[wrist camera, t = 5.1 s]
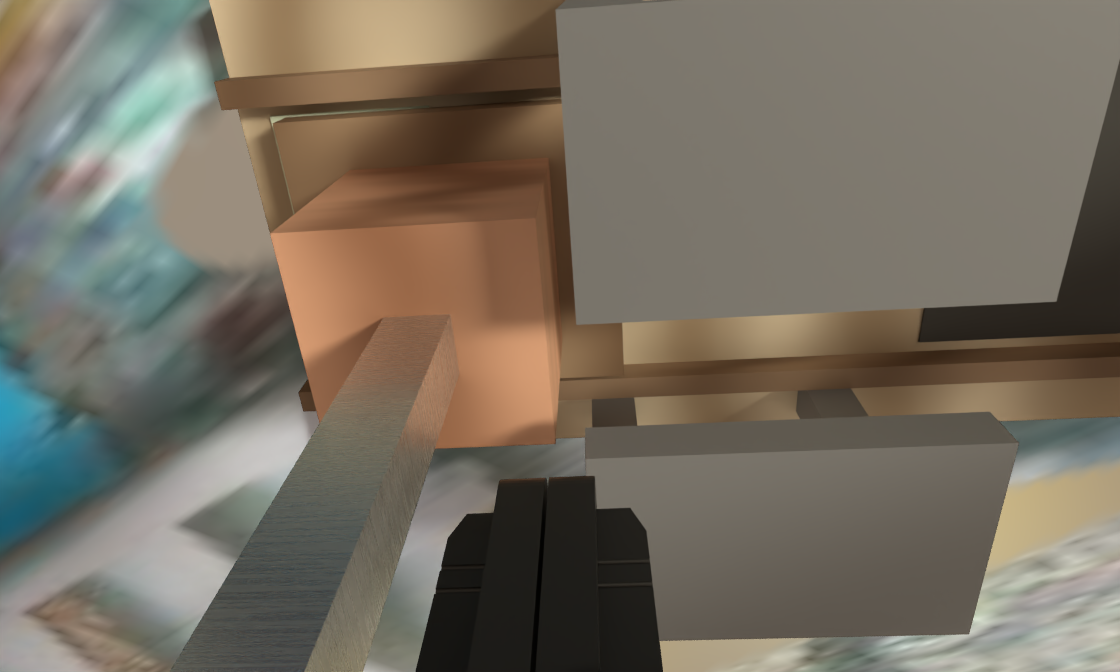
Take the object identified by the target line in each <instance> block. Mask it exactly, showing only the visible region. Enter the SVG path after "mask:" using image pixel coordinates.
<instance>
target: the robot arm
mask: <svg viewBox="0 0 1120 672" xmlns="http://www.w3.org/2000/svg"><path fill="white" fill-rule="evenodd" d="M441 566H442V569H441V571H440V573H439V577H438V581H437V585H436V594H434V598H433V602H432V606H431V610H430V614H429V618H428V622H427V627H426V631H425V635H424V639H423V643H422V647H421V651H420V655H419V659H418V664H417V668H416V672H663V667H662V659H661V650H660V642H659V633H658V625H657V616H656V607H655V599H654V590H653V583H652V573H651V565H650V556H649V547H648V539H647V531H646V529H645V528H644V526H643V525H642V524H641V522H640V521H639V519H638V518H637V517H636V515H635V514H634V512H633V511H632V510H631V508H609V509H597V501H596V484H595V476H575V477H550V478H549V482H548V484H547V479H546V478H530V479H505V480H500V481H499V485H498V490H497V496H496V502H495V508H494V513H481V514H467V515H466V516H465V517H464V518H463V520H462V521H461V522H460V523H459V525H458V526H457V527H456V529H455V530H454V531H453V532H452V534H451V535H450V536H449V537H448V540H447V544H446V548H445V552H444V557H443V561H442V565H441Z"/></svg>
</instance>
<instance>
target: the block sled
mask: <svg viewBox="0 0 1120 672" xmlns="http://www.w3.org/2000/svg"><path fill="white" fill-rule="evenodd" d="M273 128H274V132H275V136H276V140H277V144H278V148H279V152H280V156H281V161H282V165H283V169H284V173H285V177H286V181H287V185H288V189H289V193H290V198H291V202H292V206H293V210H294V215H293V216H292V217H290V218H289V219H288V220H286V221H285V222H284V223H283V224H281V225H280V226H279V227H278V228H276V229H275V230H274V231H273V232H271V233H270V235H271V239H272V243H273V247H274V251H275V254H276V258H277V262H278V266H279V270H280V273H281V277H282V281H283V285H284V289H285V293H286V296H287V300H288V304H289V308H290V312H291V315H292V319H293V323H294V327H295V331H296V335H297V338H298V342H299V346H300V350H301V354H302V358H303V361H304V365H305V369H306V373H307V377H308V380H309V384H310V388H311V392H312V396H313V400H314V403H315V407H316V411H317V415H318V419H319V423H320V424H319V425H318V427H317V429H316V430H315V432H314V434H313V435H312V437H311V439H310V440H309V442H308V444H307V445H306V447H305V449H304V450H303V452H302V454H301V455H300V457H299V459H298V460H297V462H296V463H295V465H294V467H293V468H292V470H291V472H290V473H289V475H288V477H287V478H286V480H285V482H284V483H283V485H282V487H281V488H280V490H279V492H278V493H277V495H276V497H275V498H274V500H273V502H272V503H271V505H270V507H269V508H268V510H267V512H266V513H265V515H264V516H263V518H262V520H261V521H260V523H259V525H258V526H257V528H256V530H255V531H254V533H253V535H252V536H251V538H250V540H249V541H248V543H247V545H246V546H245V548H244V550H243V551H242V553H241V555H240V556H239V558H238V560H237V561H236V563H235V564H234V566H233V568H232V569H231V571H230V573H229V574H228V576H227V578H226V579H225V581H224V583H223V584H222V586H221V588H220V589H219V591H218V593H217V594H216V596H215V598H214V599H213V601H212V603H211V604H210V606H209V608H208V609H207V611H206V613H205V614H204V616H203V617H202V619H201V621H200V622H199V624H198V626H197V627H196V629H195V631H194V632H193V634H192V636H191V637H190V639H189V641H188V642H187V644H186V646H185V647H184V649H183V651H182V652H181V654H180V656H179V657H178V659H177V661H176V662H175V664H174V666H173V667H172V669H171V670H170V672H363V669H364V666H365V663H366V660H367V657H368V654H369V651H370V648H371V645H372V642H373V638H374V635H375V632H376V629H377V626H378V623H379V620H380V617H381V614H382V611H383V608H384V605H385V601H386V598H387V595H388V592H389V589H390V586H391V583H392V580H393V577H394V574H395V571H396V568H397V564H398V561H399V558H400V555H401V552H402V549H403V546H404V543H405V540H406V537H407V534H408V531H409V527H410V524H411V521H412V518H413V515H414V512H415V509H416V506H417V503H418V500H419V497H420V494H421V490H422V487H423V484H424V481H425V478H426V475H427V472H428V469H429V466H430V463H431V460H432V457H433V453H434V450H435V449H436V448H462V447H488V446H514V445H541V444H555V443H556V428H557V413H558V398H559V383H560V378H578V377H601V376H624V359H623V329H622V323H606V324H585V325H576V313H575V297H574V282H573V267H572V252H571V237H570V222H569V206H568V191H567V176H566V161H565V146H564V131H563V115H562V100H561V99H550V100H535V101H521V102H506V103H491V104H476V105H462V106H447V107H432V108H418V109H403V110H388V111H373V112H359V113H344V114H329V115H315V116H300V117H285V118H283V119H281V120H279V121H277V122H274V123H273Z"/></svg>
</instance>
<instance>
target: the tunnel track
mask: <svg viewBox="0 0 1120 672" xmlns="http://www.w3.org/2000/svg"><path fill="white" fill-rule="evenodd" d="M209 2H210V5H211V9H212V13H213V17H214V21H215V24H216V28H217V32H218V36H219V40H220V44H221V47H222V51H223V55H224V59H225V63H226V67H227V70H228V74H229V78H227V79H223V80H219V81H216V82H214V83H215V87H216V91H217V94H218V98H219V102H220V106H221V109H222V110H232V109H238V112H239V116H240V120H241V124H242V128H243V131H244V135H245V139H246V142H247V147H248V150H249V154H250V158H251V162H252V166H253V170H254V173H255V177H256V181H257V185H258V188H259V192H260V197H261V200H262V204H263V208H264V212H265V216H266V219H267V223H268V227H269V231H270V233H271V232H273V231H274V230H275V229H276V228H278V227H279V226H280V225H281V224H283V223H284V222H285V221H286V220H288V219H289V218H290V217H292V216H293V215H294V210H293V206H292V202H291V198H290V193H289V189H288V185H287V181H286V177H285V173H284V169H283V165H282V161H281V156H280V152H279V148H278V144H277V140H276V136H275V132H274V128H273V123H274V122H277V121H279V120H281V119H283V118H285V117H300V116H315V115H329V114H344V113H359V112H373V111H388V110H403V109H418V108H432V107H447V106H462V105H476V104H491V103H506V102H521V101H535V100H550V99H561V100H562V115H563V131H564V146H565V161H566V176H567V191H568V206H569V222H570V237H571V252H572V267H573V282H574V297H575V313H576V325H585V324H606V323H622V329H623V359H624V376H601V377H578V378H560V383H559V398H558V413H557V428H556V438H581V437H585V464H586V476H595V484H596V501H597V509H609V508H631V510H632V511H633V512H634V514H635V515H636V517H637V518H638V519H639V521H640V522H641V524H642V525H643V526H644V528H645V529H646V531H647V539H648V547H649V556H650V565H651V573H652V583H653V590H654V599H655V607H656V616H657V625H658V633H659V641H668V640H669V641H673V640H718V639H766V638H815V637H862V636H909V635H956V634H969V632H970V628H971V625H972V621H973V617H974V613H975V609H976V606H977V602H978V598H979V594H980V590H981V587H982V583H983V579H984V575H985V571H986V567H987V564H988V560H989V556H990V552H991V548H992V544H993V541H994V537H995V533H996V529H997V526H998V521H999V518H1000V514H1001V510H1002V506H1003V503H1004V499H1005V495H1006V491H1007V487H1008V484H1009V480H1010V476H1011V472H1012V468H1013V465H1014V461H1015V457H1016V453H1017V449H1018V446H1019V442H1018V441H1017V440H1016V439H1015V438H1014V437H1013V436H1012V435H1011V434H1010V433H1009V432H1008V431H1007V429H1006V428H1005V427H1004V426H1003V425H1002V424H1001V423H1000V422H999V421H1019V420H1045V419H1071V418H1096V417H1120V0H209ZM298 393H299V397H300V400H301V404H302V408H303V411H316V407H315V403H314V400H313V396H312V392H311V388H310V384H309V380H307V381H306V382H305V384H304V385H303V387H302V388H301V390H300V391H299V392H298Z"/></svg>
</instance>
